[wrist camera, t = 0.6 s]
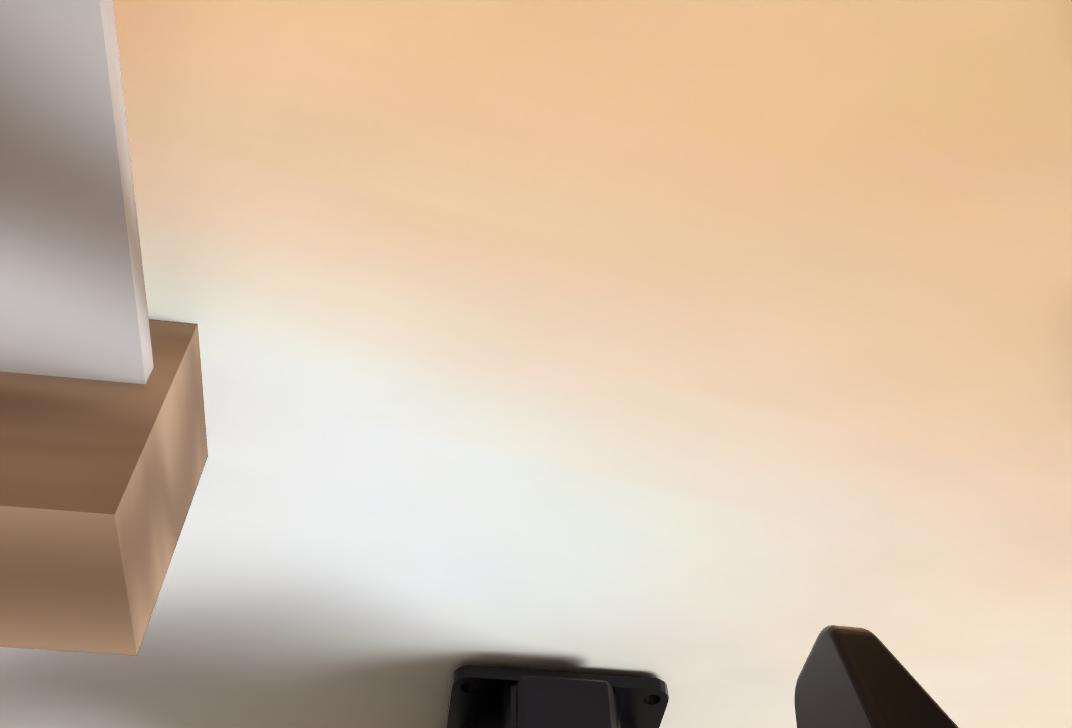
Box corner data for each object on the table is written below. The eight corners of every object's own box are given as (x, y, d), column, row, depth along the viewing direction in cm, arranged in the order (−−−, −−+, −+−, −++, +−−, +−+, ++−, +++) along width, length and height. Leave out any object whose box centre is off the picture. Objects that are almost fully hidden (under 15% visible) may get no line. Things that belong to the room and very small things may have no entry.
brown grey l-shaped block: (207, 455, 25) (137, 655, 21) (41, 441, 25) (-72, 642, 20) (169, -43, 18) (46, 84, 13) (-65, -74, 18) (-276, 46, 13)
